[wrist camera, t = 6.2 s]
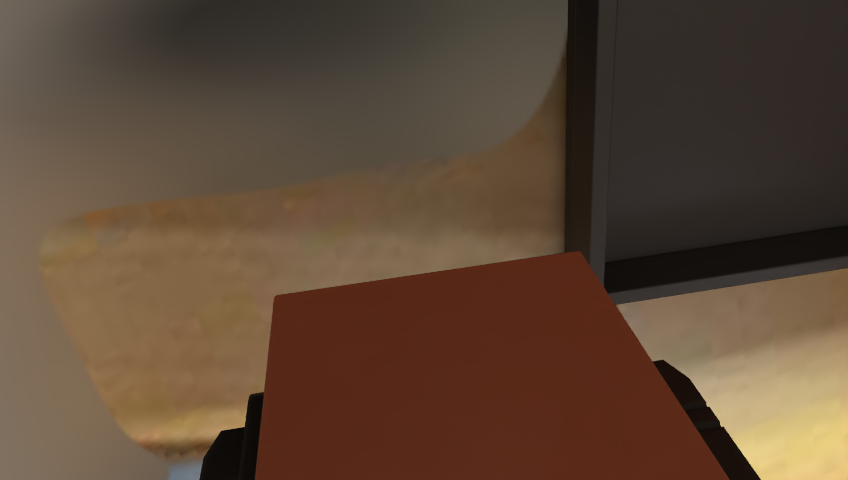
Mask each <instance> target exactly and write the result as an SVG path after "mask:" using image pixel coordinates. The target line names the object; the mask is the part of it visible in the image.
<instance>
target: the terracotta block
mask: <svg viewBox="0 0 848 480" xmlns="http://www.w3.org/2000/svg"><path fill="white" fill-rule="evenodd" d="M255 480H729V478H728V476H727V475H726V473H725V472H724V470H723V469H722V467H721V466H720V464H719V463H718V461H717V460H716V458H715V457H714V455H713V454H712V452H711V450H710V449H709V447H708V446H707V444H706V443H705V441H704V440H703V438H702V437H701V435H700V434H699V432H698V431H697V429H696V428H695V426H694V424H693V423H692V421H691V420H690V418H689V417H688V415H687V414H686V412H685V411H684V409H683V408H682V406H681V405H680V403H679V402H678V400H677V399H676V397H675V395H674V394H673V392H672V391H671V389H670V388H669V386H668V385H667V383H666V382H665V380H664V379H663V377H662V376H661V374H660V373H659V371H658V369H657V368H656V366H655V365H654V363H653V362H652V360H651V359H650V357H649V356H648V354H647V353H646V351H645V350H644V348H643V347H642V345H641V343H640V342H639V340H638V339H637V337H636V336H635V334H634V333H633V331H632V330H631V328H630V327H629V325H628V324H627V322H626V321H625V319H624V318H623V316H622V314H621V313H620V311H619V310H618V308H617V307H616V305H615V304H614V302H613V301H612V299H611V298H610V296H609V295H608V293H607V292H606V290H605V288H604V287H603V285H602V284H601V282H600V281H599V279H598V278H597V276H596V275H595V273H594V272H593V270H592V269H591V267H590V266H589V264H588V262H587V261H586V259H585V258H584V256H583V255H582V253H581V252H580V251H573V252H567V253H560V254H553V255H546V256H539V257H533V258H526V259H519V260H512V261H506V262H499V263H492V264H485V265H479V266H472V267H465V268H458V269H451V270H445V271H438V272H431V273H424V274H418V275H411V276H404V277H397V278H390V279H384V280H377V281H370V282H363V283H357V284H350V285H343V286H336V287H330V288H323V289H316V290H309V291H302V292H296V293H289V294H282V295H277V296H275V297H274V304H273V314H272V323H271V333H270V342H269V351H268V361H267V370H266V380H265V389H264V398H263V408H262V417H261V427H260V436H259V445H258V455H257V464H256V474H255Z"/></svg>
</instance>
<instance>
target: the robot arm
mask: <svg viewBox="0 0 848 480" xmlns="http://www.w3.org/2000/svg"><path fill="white" fill-rule="evenodd" d="M653 363H654V365H655V366H656V368H657V369H658V371H659V373H660V374H661V376H662V377H663V379H664V380H665V382H666V383H667V385H668V386H669V388H670V389H671V391H672V392H673V394H674V395H675V397H676V399H677V400H678V402H679V403H680V405H681V406H682V408H683V409H684V411H685V412H686V414H687V415H688V417H689V418H690V420H691V421H692V423H693V424H694V426H695V428H696V429H697V431H698V432H699V434H700V435H701V437H702V438H703V440H704V441H705V443H706V444H707V446H708V447H709V449H710V450H711V452H712V454H713V455H714V457H715V458H716V460H717V461H718V463H719V464H720V466H721V467H722V469H723V470H724V472H725V473H726V475H727V476H728V478H729V480H761V479H760V478H759V476H758V475H757V474H756V472H755V471H754V469H753V468H752V467H751V465H750V464H749V462H748V461H747V459H746V458H745V457H744V455H743V454H742V452H741V451H740V450H739V448H738V447H737V445H736V444H735V442H734V441H733V440H732V438H731V437H730V435H729V434H728V433H727V431H726V430H725V428H724V427H721V426H720V421H719V420H718V418H717V417H716V416H715V414H714V413H713V411H712V410H711V408H710V407H707V406H706V401H705V400H704V399H703V397H702V396H701V394H700V393H699V392H698V390H697V389H696V387H695V386H694V384H693V383H692V382H691V380H690V379H689V378H688V377H687V376H685V375H684V374H682V373H681V372H680V371H678V370H677V369H675V368H674V367H673V366H671V365H670V364H668V363H667V362H666V361H664V360H659V361H653ZM263 398H264V392H261V393H255V394H251V395H250V396H249V400H248V407H247V414H246V422H245V427H242V428H236V429H230V430H224V431H221V432H220V434H219V435H218V437H217V438H216V440H215V441H214V443H213V444H212V446H211V447H210V449H209V450H208V452H207V453H206V455H205V457H204V459H203V464H202V469H201V474H200V480H255V474H256V464H257V455H258V445H259V436H260V427H261V417H262V408H263Z"/></svg>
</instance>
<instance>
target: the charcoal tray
mask: <svg viewBox="0 0 848 480" xmlns="http://www.w3.org/2000/svg"><path fill="white" fill-rule="evenodd" d="M573 251H580V252H581V253H582V255H583V256H584V258H585V259H586V261H587V262H588V264H589V266H590V267H591V269H592V270H593V272H594V273H595V275H596V276H597V278H598V279H599V281H600V282H601V284H602V285H603V287H604V288H605V290H606V292H607V293H608V295H609V296H610V298H611V299H612V301H613V302H614V304H615V305H617V304H623V303H630V302H636V301H642V300H649V299H655V298H661V297H668V296H674V295H680V294H687V293H693V292H699V291H706V290H712V289H718V288H725V287H731V286H737V285H744V284H750V283H756V282H762V281H769V280H775V279H781V278H788V277H794V276H800V275H807V274H813V273H819V272H826V271H832V270H838V269H845V268H848V0H568V50H567V126H566V203H565V253H567V252H573Z"/></svg>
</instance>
